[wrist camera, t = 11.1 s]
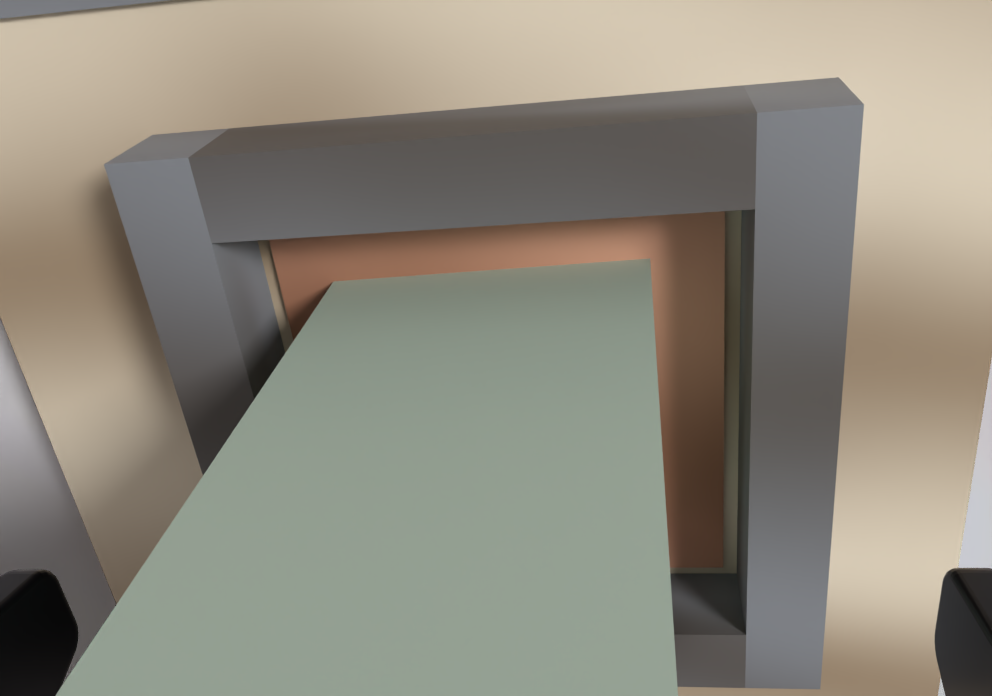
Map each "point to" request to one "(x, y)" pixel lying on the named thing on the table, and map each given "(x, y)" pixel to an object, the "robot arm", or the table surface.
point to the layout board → (540, 262)
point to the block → (425, 506)
